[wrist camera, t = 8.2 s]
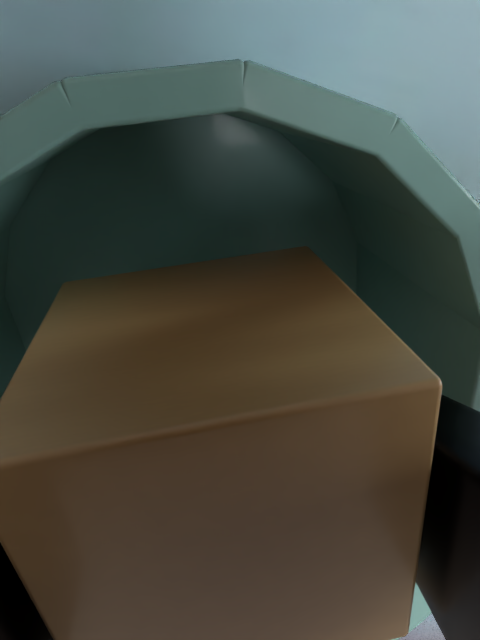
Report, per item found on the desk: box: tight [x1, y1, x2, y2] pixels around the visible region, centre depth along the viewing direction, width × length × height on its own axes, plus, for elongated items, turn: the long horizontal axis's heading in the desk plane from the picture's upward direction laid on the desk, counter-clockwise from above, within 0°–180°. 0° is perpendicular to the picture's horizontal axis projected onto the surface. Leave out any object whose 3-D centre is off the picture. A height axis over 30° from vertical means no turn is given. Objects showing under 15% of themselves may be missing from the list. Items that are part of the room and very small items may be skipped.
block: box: [0, 246, 443, 640], centre depth 8 cm, size 5×5×5 cm
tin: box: [0, 59, 480, 412], centre depth 11 cm, size 12×12×6 cm
